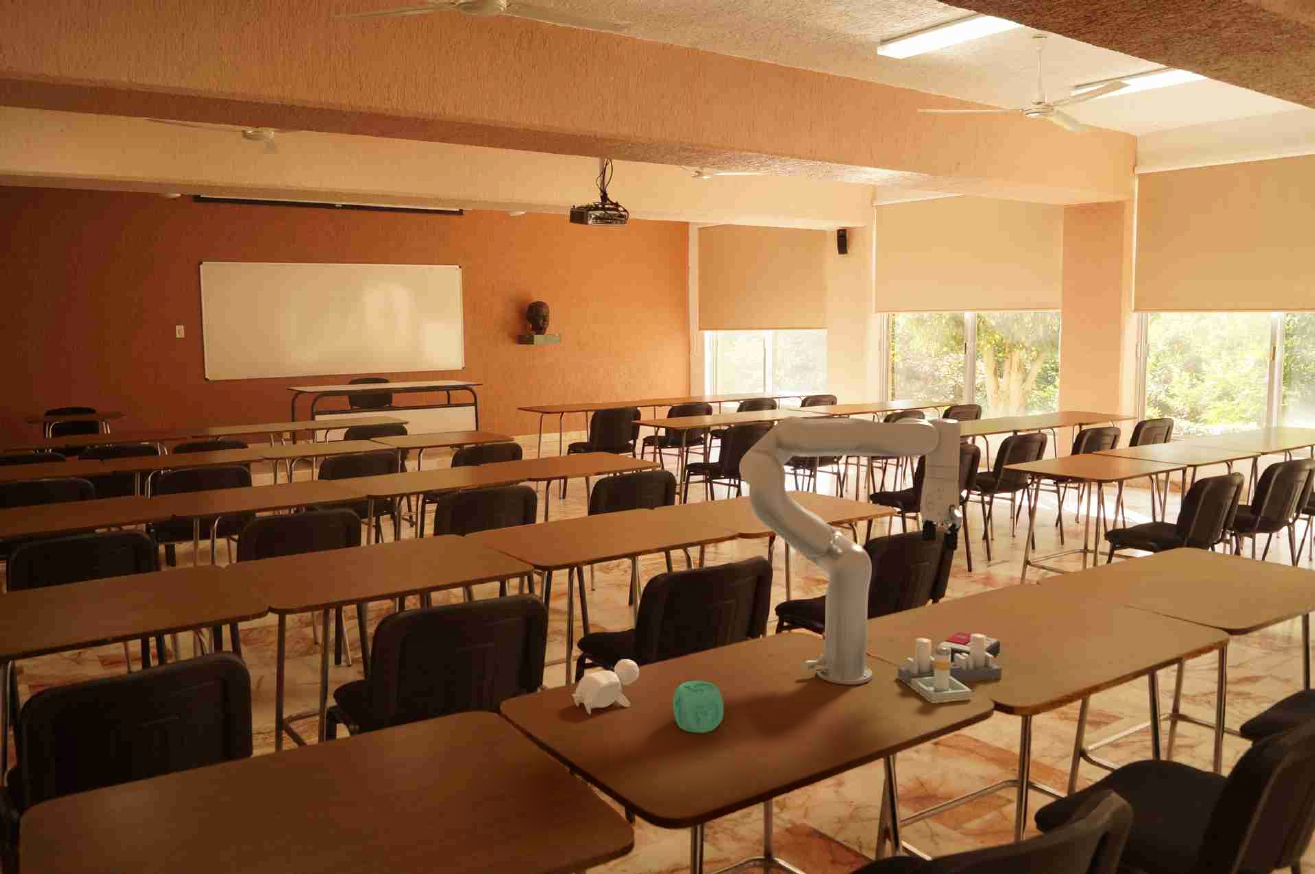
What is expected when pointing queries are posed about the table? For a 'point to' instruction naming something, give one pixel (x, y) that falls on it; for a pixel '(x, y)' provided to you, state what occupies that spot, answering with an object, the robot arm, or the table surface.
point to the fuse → (942, 668)
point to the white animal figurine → (606, 686)
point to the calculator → (962, 644)
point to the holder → (960, 669)
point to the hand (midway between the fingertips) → (939, 545)
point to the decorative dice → (698, 706)
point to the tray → (954, 692)
